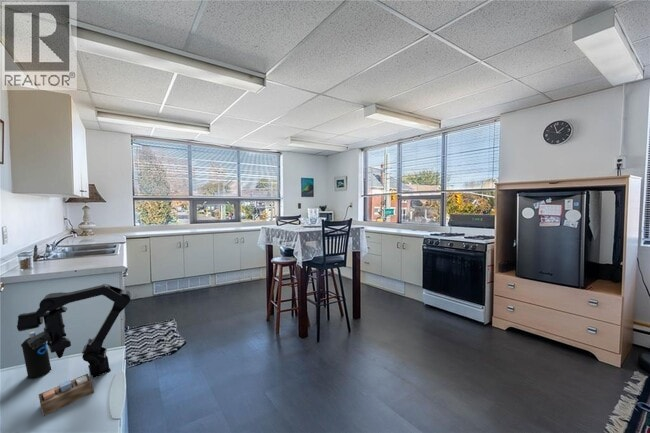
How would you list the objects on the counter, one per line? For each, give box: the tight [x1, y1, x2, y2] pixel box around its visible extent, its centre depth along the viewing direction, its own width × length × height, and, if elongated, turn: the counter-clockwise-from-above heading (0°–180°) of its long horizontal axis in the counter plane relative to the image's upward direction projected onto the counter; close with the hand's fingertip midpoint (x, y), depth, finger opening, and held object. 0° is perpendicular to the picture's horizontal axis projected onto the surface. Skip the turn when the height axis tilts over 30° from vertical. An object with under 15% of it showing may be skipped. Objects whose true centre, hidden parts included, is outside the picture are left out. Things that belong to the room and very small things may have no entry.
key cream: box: [75, 374, 88, 386], centre depth 122 cm, size 3×3×4 cm
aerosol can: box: [20, 331, 52, 380], centre depth 134 cm, size 8×8×20 cm
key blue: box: [58, 379, 72, 393], centre depth 118 cm, size 3×3×4 cm
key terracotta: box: [42, 388, 55, 400], centre depth 114 cm, size 3×3×4 cm
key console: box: [38, 373, 95, 417], centre depth 118 cm, size 15×8×5 cm, turn 140°
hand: (60, 357), depth 126 cm, fingers closed
